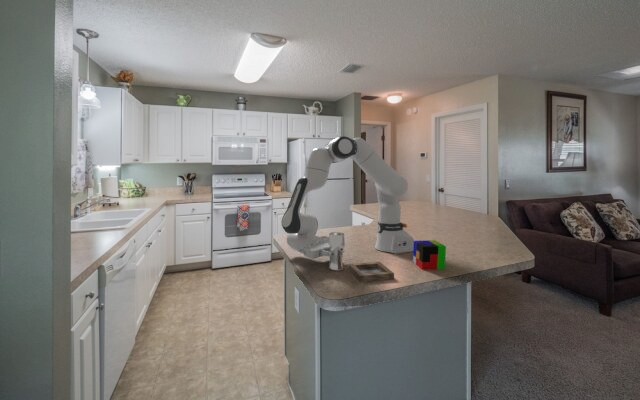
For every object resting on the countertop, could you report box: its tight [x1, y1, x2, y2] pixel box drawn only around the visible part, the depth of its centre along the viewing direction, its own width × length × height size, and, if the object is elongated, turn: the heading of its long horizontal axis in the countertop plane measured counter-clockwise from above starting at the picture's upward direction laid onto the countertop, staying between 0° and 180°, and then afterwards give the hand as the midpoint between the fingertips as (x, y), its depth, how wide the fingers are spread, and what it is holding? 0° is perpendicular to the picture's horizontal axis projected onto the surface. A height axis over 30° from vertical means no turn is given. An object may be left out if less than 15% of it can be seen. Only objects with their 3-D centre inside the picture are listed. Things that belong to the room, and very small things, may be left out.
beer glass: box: [328, 231, 346, 272], centre depth 129 cm, size 7×7×15 cm
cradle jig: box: [348, 261, 395, 283], centre depth 123 cm, size 14×14×2 cm
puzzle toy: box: [412, 239, 447, 271], centre depth 134 cm, size 10×10×10 cm
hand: (337, 252), depth 128 cm, fingers closed on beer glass, 6 cm apart
